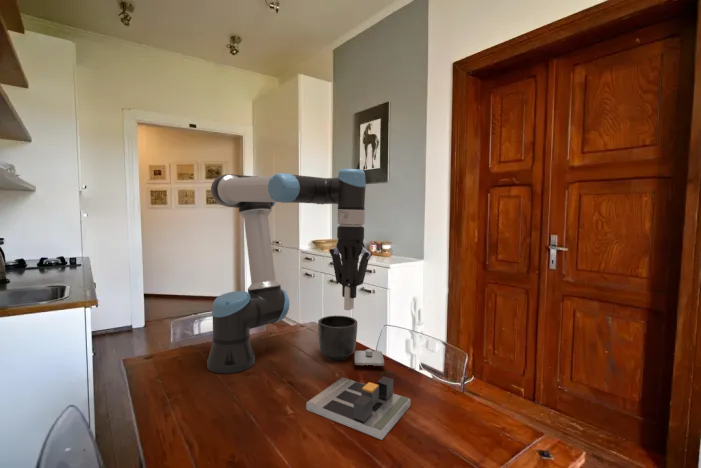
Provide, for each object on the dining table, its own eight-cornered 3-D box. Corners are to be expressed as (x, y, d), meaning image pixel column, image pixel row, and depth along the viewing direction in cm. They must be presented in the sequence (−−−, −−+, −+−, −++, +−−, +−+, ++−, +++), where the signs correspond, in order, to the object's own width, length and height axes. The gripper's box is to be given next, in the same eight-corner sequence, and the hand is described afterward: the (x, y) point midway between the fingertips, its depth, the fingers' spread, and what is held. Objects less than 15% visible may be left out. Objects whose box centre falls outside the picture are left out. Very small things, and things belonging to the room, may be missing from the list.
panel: (306, 409, 93) (306, 386, 93) (341, 383, 107) (342, 363, 107) (381, 440, 82) (382, 413, 81) (410, 406, 96) (411, 383, 95)
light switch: (384, 371, 117) (385, 356, 116) (354, 370, 117) (354, 355, 116) (381, 358, 126) (382, 344, 126) (354, 358, 126) (354, 344, 126)
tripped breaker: (361, 404, 92) (361, 388, 91) (368, 398, 95) (369, 381, 95) (371, 408, 90) (371, 391, 90) (378, 401, 94) (379, 384, 93)
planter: (333, 346, 137) (334, 313, 136) (364, 355, 129) (365, 320, 128) (309, 358, 125) (309, 322, 124) (340, 369, 117) (341, 330, 116)
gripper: (323, 224, 99) (322, 308, 101) (364, 227, 93) (362, 316, 94) (338, 224, 106) (337, 302, 107) (377, 226, 99) (375, 309, 100)
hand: (348, 308), depth 101 cm, fingers closed
